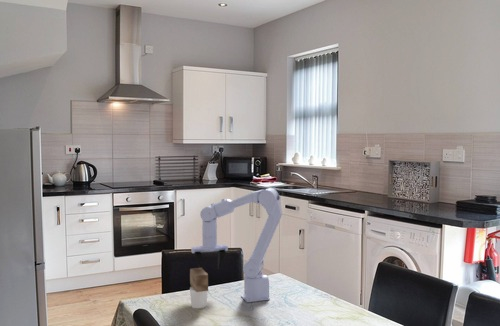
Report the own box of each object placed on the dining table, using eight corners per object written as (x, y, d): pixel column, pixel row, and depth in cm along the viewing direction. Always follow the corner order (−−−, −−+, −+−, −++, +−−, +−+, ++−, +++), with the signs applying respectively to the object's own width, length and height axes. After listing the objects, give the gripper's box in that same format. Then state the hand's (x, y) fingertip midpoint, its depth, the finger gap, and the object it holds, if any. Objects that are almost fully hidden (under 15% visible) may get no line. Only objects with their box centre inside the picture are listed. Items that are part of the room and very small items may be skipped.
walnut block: (201, 282, 174) (201, 267, 174) (208, 290, 165) (207, 274, 164) (190, 284, 172) (189, 268, 172) (196, 292, 163) (196, 275, 163)
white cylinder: (205, 309, 165) (204, 290, 164) (187, 308, 166) (187, 289, 166) (210, 303, 172) (210, 285, 171) (193, 301, 173) (193, 283, 173)
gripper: (193, 239, 174) (193, 273, 174) (229, 236, 178) (229, 270, 178) (190, 235, 180) (190, 268, 181) (225, 233, 185) (225, 266, 185)
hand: (209, 269), depth 180 cm, fingers open, 7 cm apart
